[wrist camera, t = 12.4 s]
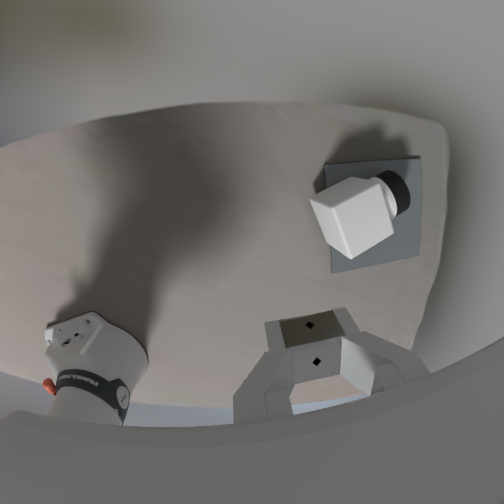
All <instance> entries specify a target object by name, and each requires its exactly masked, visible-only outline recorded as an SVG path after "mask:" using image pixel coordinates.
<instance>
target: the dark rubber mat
mask: <svg viewBox="0 0 504 504" xmlns="http://www.w3.org/2000/svg"><path fill="white" fill-rule="evenodd" d="M386 170H391V171H393V172H396V173H397V174H398V175H400V176H401V178H402V179H403V180H404V181H405V183H406V185H407V187H408V189H409V192H410V197H411V202H410V206H409V208H408V209H407V210H406V211H404V212H403V213H401V214H399V215H398V216H396V217H394V218H393V219H391V221H392V225H393V229H394V234H393V235H391V236H389V237H388V238H386V239H385V240H383V241H381V242H380V243H378V244H376V245H375V246H373V247H372V248H370V249H368V250H367V251H365V252H363V253H362V254H360V255H358V256H357V257H355V258H353V259H349V258H347V257H346V256H345V255H343V254H342V253H341V252H339V251H338V250H336V249H335V248H334V247H332V246H331V245H330V252H331V272H332V273H337V272H342V271H347V270H352V269H357V268H362V267H367V266H372V265H377V264H382V263H386V262H391V261H396V260H400V259H405V258H409V257H414V256H418V255H419V245H420V229H421V159H396V160H379V161H365V162H353V163H341V164H331V165H324V172H325V182H326V189H327V188H329V187H331V186H333V185H335V184H337V183H339V182H341V181H343V180H345V179H347V178H349V177H356V178H362V179H367V180H368V179H370V178H372V177H374V176H376V175H378V174H380V173H382V172H384V171H386Z"/></svg>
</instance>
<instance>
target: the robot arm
mask: <svg viewBox="0 0 504 504" xmlns="http://www.w3.org/2000/svg"><path fill="white" fill-rule="evenodd" d="M88 320H89V321H88ZM265 330H266V336H267V342H268V348H269V351H268V352H265V353H264V354H263V356H262V357H261V359H260V360H259V361H258V363H257V364H256V366H255V367H254V368H253V370H252V371H251V373H250V374H249V375H248V377H247V378H246V379H245V381H244V382H243V383H242V385H241V386H240V387H239V389H238V390H237V391H236V393H235V394H234V395H233V414H234V424H226V425H214V426H196V427H137V426H136V427H135V426H122V425H123V422H124V419H125V417H126V413H127V410H128V406H129V400H130V396H131V394H132V392H133V390H134V388H135V386H136V384H137V383H138V381H139V380H140V378H141V377H142V375H143V374H144V373H145V372H146V370H147V367H148V360H147V356H146V353H145V351H144V349H143V348H142V346H141V345H140V344H139V343H138V341H137V340H136V339H134V338H133V337H132V336H131V335H130V334H128V333H127V332H125V331H124V330H122V329H120V328H118V327H116V326H114V325H111V324H109V323H108V322H106V321H105V320H104V319H103V318H102V317H100V316H99V315H98V314H96V313H94V312H89V313H86V314H84V315H81V316H78V317H75V318H72V319H69V320H67V321H64V322H61V323H58V324H55V325H52V326H50V327H47V328H46V330H45V339H46V342H47V345H48V348H47V350H46V361H47V364H48V366H49V368H50V370H51V372H52V374H53V375H54V377H55V379H56V380H57V382H56V386H55V385H54V383H53V381H52V380H51V379H50V378H47V379H46V380H44V381H43V386H44V388H46V389H47V391H48V393H50V394H52V393H53V394H54V396H55V398H54V400H53V402H52V404H51V406H50V408H49V410H48V412H47V414H46V415H41V414H37V413H32V412H29V411H24V410H14V411H12V412H10V413H8V414H7V415H6V416H4V417H3V418H2V419H0V504H504V337H502V338H500V339H499V340H497V341H495V342H494V343H492V344H490V345H488V346H487V347H485V348H483V349H481V350H479V351H477V352H476V353H474V354H472V355H470V356H468V357H466V358H464V359H462V360H460V361H458V362H456V363H453V364H451V365H449V366H447V367H445V368H443V369H440V370H438V371H436V372H433V373H430V371H429V370H428V369H427V367H426V366H425V364H424V363H423V362H422V360H421V359H420V357H419V356H418V355H417V353H415V352H412V351H410V350H408V349H405V348H403V347H401V346H398V345H396V344H394V343H391V342H389V341H387V340H384V339H382V338H379V337H377V336H375V335H372V334H370V333H368V332H366V331H362V332H360V330H359V328H358V327H357V325H356V323H355V322H354V320H353V319H352V317H351V315H350V314H349V312H348V311H347V309H346V308H345V307H340V308H337V309H332V310H330V311H326V312H321V313H316V314H311V315H307V316H300V317H294V318H288V319H281V320H279V321H278V320H276V321H270V322H265ZM338 374H340V376H342V377H343V378H345V379H346V380H347V381H349V382H350V383H351V384H353V385H354V386H356V387H357V388H358V389H360V390H361V391H363V392H364V393H366V394H367V395H368V397H365V398H361V399H358V400H355V401H351V402H347V403H344V404H340V405H336V406H332V407H328V408H324V409H320V410H315V411H311V412H306V413H301V414H296V415H293V412H292V407H291V403H290V398H289V396H290V394H291V392H292V389H293V387H294V384H298V383H302V382H307V381H311V380H315V379H319V378H324V377H329V376H334V375H338Z"/></svg>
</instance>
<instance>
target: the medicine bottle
mask: <svg viewBox="0 0 504 504" xmlns="http://www.w3.org/2000/svg"><path fill="white" fill-rule="evenodd" d="M309 200H310V202H311V205H312V207H313V210H314V212H315V214H316V217H317V219H318V222H319V224H320V227H321V229H322V232H323V234H324V237H325V239H326V242H327V243H328V244H329V245H331V246H332V247H334V248H335V249H336V250H338V251H339V252H341V253H342V254H343V255H345V256H346V257H347V258H349V259H353V258H355V257H357V256H358V255H360V254H362V253H363V252H365V251H367V250H368V249H370V248H372V247H373V246H375V245H376V244H378V243H380V242H381V241H383V240H385V239H386V238H388V237H389V236H391V235H393V234H394V229H393V225H392V221H391V219H393V218H394V217H396V216H398V215H399V214H401V213H403V212H404V211H406V210H407V209H408V208H409V206H410V202H411V197H410V192H409V189H408V187H407V185H406V183H405V181H404V180H403V179H402V178H401V176H400V175H398V174H397V173H396V172H393V171H391V170H386V171H384V172H382V173H380V174H378V175H376V176H374V177H372V178H370V179H368V180H367V179H362V178H356V177H349V178H347V179H345V180H343V181H341V182H339V183H337V184H335V185H333V186H331V187H329V188H327V189H325V190H323V191H321V192H319V193H317V194H315V195H313V196H311V197H310V199H309Z"/></svg>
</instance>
